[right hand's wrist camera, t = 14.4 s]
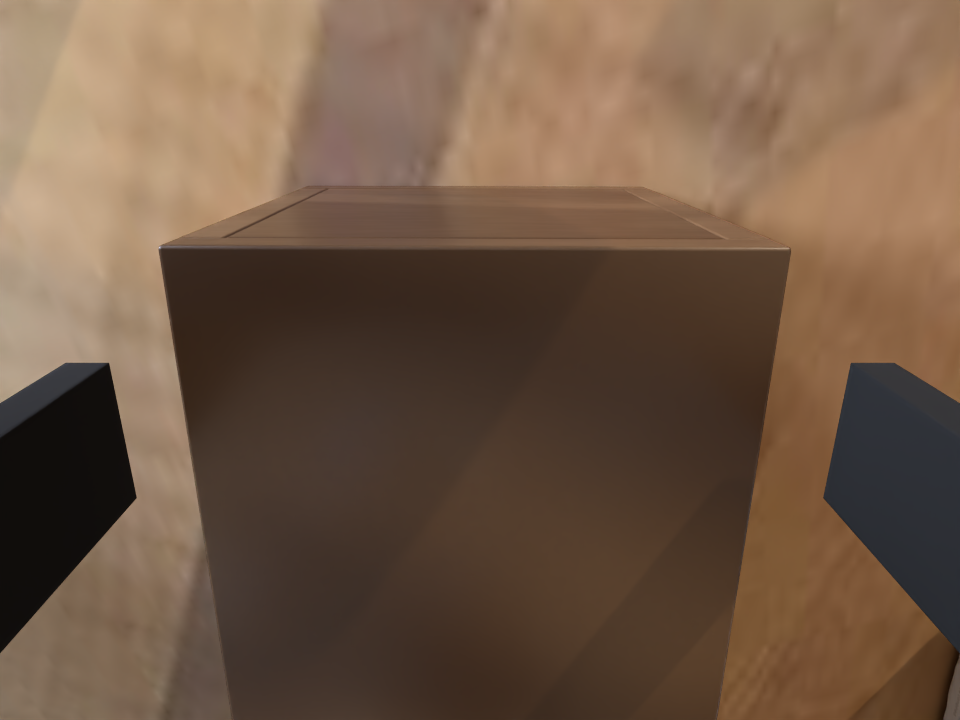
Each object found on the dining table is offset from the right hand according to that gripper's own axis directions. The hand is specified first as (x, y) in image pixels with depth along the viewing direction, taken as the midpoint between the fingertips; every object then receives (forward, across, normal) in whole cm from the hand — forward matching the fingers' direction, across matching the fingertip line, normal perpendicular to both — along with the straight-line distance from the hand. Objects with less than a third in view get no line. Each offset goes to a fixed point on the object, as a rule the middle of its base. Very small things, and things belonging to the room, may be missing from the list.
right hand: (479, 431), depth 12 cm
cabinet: (+12, 0, -8) cm, 14 cm away
